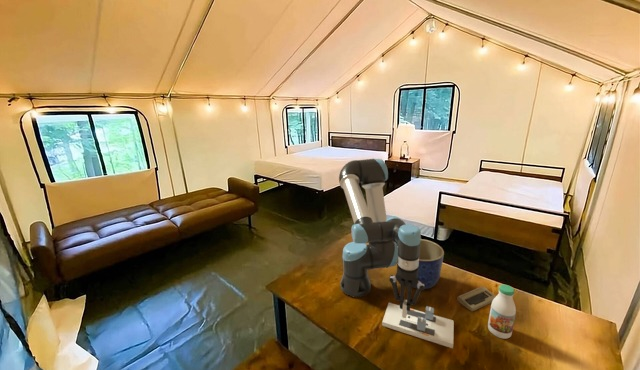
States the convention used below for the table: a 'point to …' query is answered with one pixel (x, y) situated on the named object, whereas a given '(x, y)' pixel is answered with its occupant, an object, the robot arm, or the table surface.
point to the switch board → (435, 329)
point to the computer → (476, 298)
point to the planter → (429, 263)
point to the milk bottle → (502, 313)
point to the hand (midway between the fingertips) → (404, 315)
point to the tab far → (429, 313)
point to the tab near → (421, 323)
